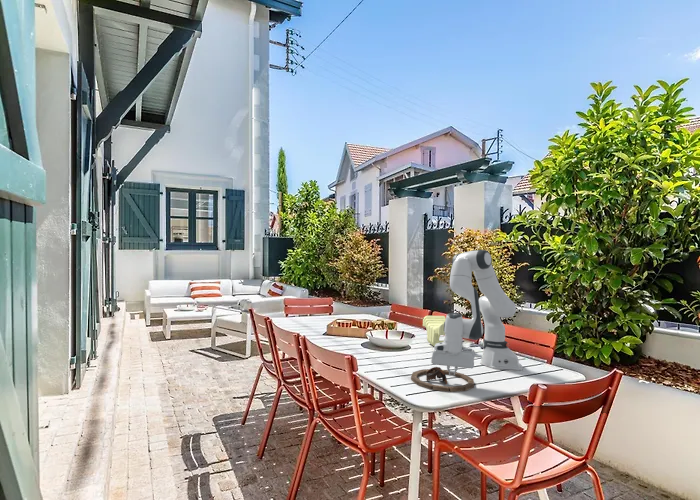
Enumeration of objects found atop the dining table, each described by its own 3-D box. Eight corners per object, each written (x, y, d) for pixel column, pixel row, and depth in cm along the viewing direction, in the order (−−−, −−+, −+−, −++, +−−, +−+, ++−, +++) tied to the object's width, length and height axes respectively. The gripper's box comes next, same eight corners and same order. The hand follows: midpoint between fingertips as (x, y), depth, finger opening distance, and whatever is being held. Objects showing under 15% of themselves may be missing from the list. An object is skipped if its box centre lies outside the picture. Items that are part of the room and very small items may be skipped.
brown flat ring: (472, 376, 214) (472, 372, 214) (474, 394, 185) (474, 391, 185) (414, 369, 221) (415, 366, 221) (408, 386, 193) (408, 383, 193)
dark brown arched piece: (447, 387, 195) (440, 372, 195) (429, 393, 199) (422, 378, 198) (450, 374, 206) (442, 360, 206) (433, 379, 210) (425, 365, 210)
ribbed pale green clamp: (422, 340, 294) (423, 315, 294) (443, 340, 297) (444, 315, 297) (438, 351, 264) (439, 323, 264) (461, 351, 267) (462, 323, 267)
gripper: (475, 347, 202) (474, 375, 202) (432, 343, 208) (431, 371, 208) (475, 350, 196) (474, 379, 196) (431, 346, 202) (430, 374, 202)
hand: (452, 375), depth 202 cm, fingers closed
